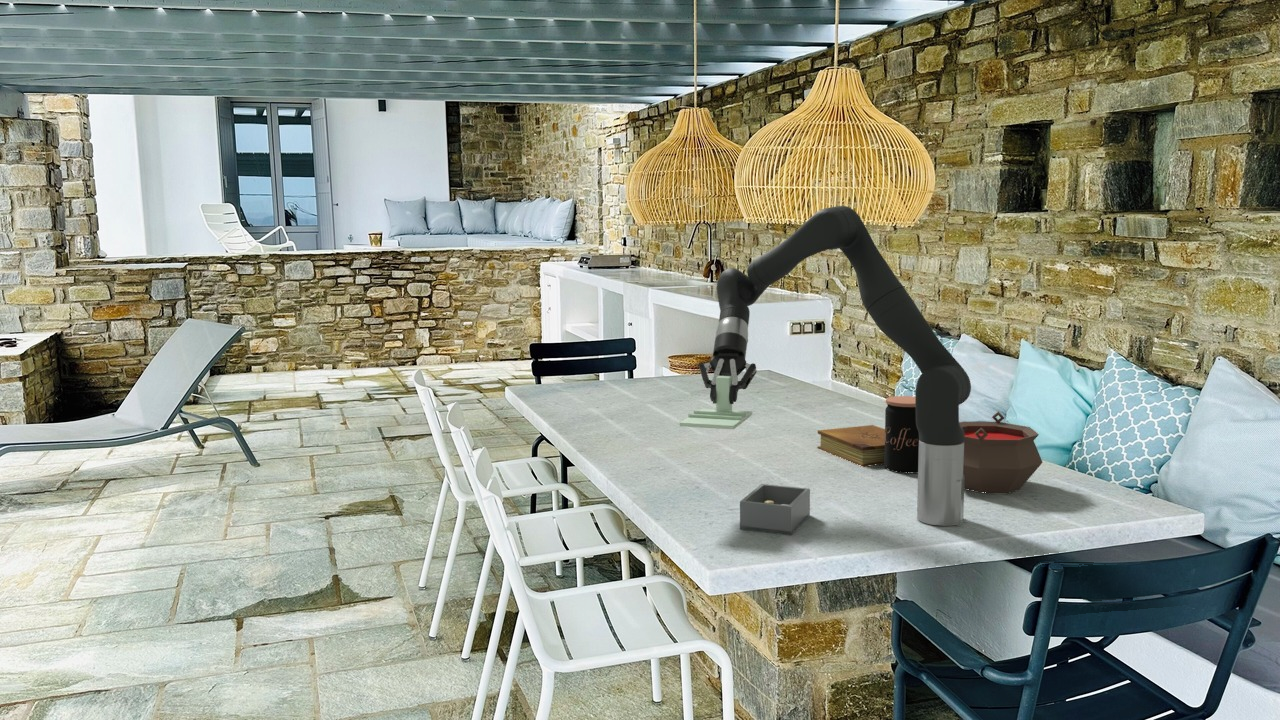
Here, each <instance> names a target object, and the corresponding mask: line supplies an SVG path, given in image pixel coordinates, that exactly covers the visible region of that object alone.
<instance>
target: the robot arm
mask: <svg viewBox="0 0 1280 720" xmlns="http://www.w3.org/2000/svg"><path fill="white" fill-rule="evenodd" d="M838 249H840V251H841V252H842V253H843V255H844V256H845V258H847V261H849V263H850V264H851V267H852V268H853V270H854V272H855V275H856V279H857V284H858V290H859V294H860V299H861V302H862V304H863V306H864V308H865V309H866V311H867V313H868V315H869V316H870V317H871V318H872V320H873V322H874V324H876V326H877V328H879V330H880V331H881V332H882V333H883V335H885V336H887V338H889V339H890V340H891V341H892V342H893V343H894V344H896V346H898V347H899V348H900V349H901V350H903V351H904V352H905V353H907V355H908V356H909V357H910V358H911V359H912V361H913V362H914V363H915V365H916V366H917V368H918V370H919V371H920V372H921V374H920V375H919V377H918V379H917V381H916V385H915V394H914V395H915V396H914V397H915V405H916V426H917V429H918V432H919V456H918V473H917V504H916V505H917V508H916V518H917V520H918V521H920V522H921V523H924V524H927V525H933V526H942V527H943V526H944V527H945V526H946V527H947V526H949V527H950V526H961V525H962V522H963V520H964V511H965V510H964V508H965V489H964V482H965V476H964V475H963V469H964V437H965V432H964V429H963V428H962V427H961V426H960V424H959V422H960V415H959V413H960V411H959V409H960V408H959V407H960V405H962V404H963V403H965V402H966V401H967V399H968V398H969V397H970V395H971V391H972V385H971V383H972V382H971V379H970V377H969V375H968V373H967V371H966V370H965V369H964V368H963V367H962V365H961V364H960V363H959V362H958V361H957V360H956V358H955V357H954V355H952V354H951V352H949V350H948V349H947V348H946V347H945V345H944V344H943V343H942V342H941V340H940V339H939V337H938V336H937V335H936V334H935V332H934V330H933V329H932V327H931V325H930V324H929V322H928V321H927V319H926V318H925V317H924V315H923V314H922V313H921V311H920V309H919V308H918V306H917V305H916V303H915V301H914V299H912V297H911V295H910V294H909V293H908V291H907V290H906V288H905V287H904V286H903V284H902V283H901V282H900V280H899V278H898V277H897V275H895V273H894V272H893V270H892V268H891V266H890V265H889V264H888V263H887V261H886V260H885V258H884V257H883V255H882V253H881V252H880V250H879V248H877V246H876V244H875V242H874V240H873V238H872V236H871V235H870V233H869V230H868V229H867V227H866V225H865V224H864V222H863V220H862V218H861V217H860V215H859V214H858V213H857V212H856V211H855V210H854V209H853V208H851V207H849V206H845V205H837V206H831V207H826V208H822V209H820V210H818V211H816V212H815V213H814V214H813V215H811V216H810V217H809V218H808V219H807V220H806V222H804V223H803V224H802V225H801V226H800V227H799V228H798V229H797V230H795V232H793V233H792V234H791V235H790V236H789V237H788V238H786V239H785V240H783V241H782V242H781V243H779V244H778V245H776V246H775V247H773V248H772V249H770V250H768V251H766V252H765V253H762V255H760V256H758V257H757V258H756V259H754V260H753V261H751V262H750V263H749V265H748V266H747V269H746V273H747V274H746V273H743V272H742V271H741V270H739V269H737V268H735V267H730V268H726V269H725V270H723V271H722V272H721V274H720V275H719V277H718V278H717V283H716V294H717V299H718V307H719V310H720V312H719V319H718V325H717V328H716V332H715V338H714V346H713V351H712V357H711V359H710V360H709V362H706V363H704V362H703V361H701V362H699V363H698V368H699V372H700V375H701V378H702V381H703V384H704V387H705V388H706V389H710V393H709V399H710V401H711V402H712V404H715V405H716V377H718V376H732V386H731V389H730V397H729V401H730V404H732V405H734V403H736V402H737V401H738V392H739V390H741V389H742V390H746V389H747V388H748V387H749V384H751V381H752V380H753V378H754V377H755V375H756V374H757V365H756V363H754V362H753V363H751V364H750V363H747V361H746V357H747V347H748V342H749V323H750V316H751V315H750V314H751V313H750V308H749V307H750V306H752V305H753V304H754V303H756V302H757V300H758V299H759V298H760V297H761V295H762V294H763V293H764V292H765V291H766V290H767V289H768V287H769V286H771V285H773V284H774V283H776V282H778V281H779V280H781V279H783V278H785V277H786V276H787V275H788V274H790V273H791V272H792V271H793V270H794V269H795V268H796V267H797V265H799V264H801V262H803V261H804V260H805V259H808V258H809V257H812V256H814V255H816V254H819V253H822V252H825V251H828V250H829V251H832V250H838ZM710 369H712V371H713V376H712V380H711V379H709V375H708V373H709V372H710ZM743 371H745V373H744V375H743V376H742V378H741V379H740V380H738V376H739V375H740V374H741V373H742V372H743Z"/></svg>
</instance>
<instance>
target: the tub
mask: <svg viewBox="0 0 1280 720" xmlns="http://www.w3.org/2000/svg"><path fill="white" fill-rule="evenodd" d="M810 515H811V488H809V487H808V488H807V487H800V486H799V487H796V486H787V485H778V484H769V483H767V484H765V483H760V484H759V485H758V486H757V487H756V488H755V489H753V490H752V491H751V492H750V493H748V495H746V496H745V497H744V498H742V499H741V500H740V501H739V530H743V531H751V532H759V533H768V534H776V535H777V534H778V535H787V536H792V535H793V534H794V533H795V532H797V530H798V529H799V528H800V527H801V526H802V524H803V523H805V522H806V520H807V519H808V518H809V517H810Z"/></svg>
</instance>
